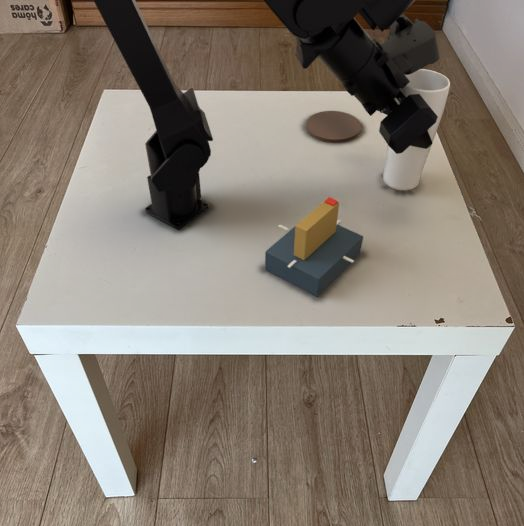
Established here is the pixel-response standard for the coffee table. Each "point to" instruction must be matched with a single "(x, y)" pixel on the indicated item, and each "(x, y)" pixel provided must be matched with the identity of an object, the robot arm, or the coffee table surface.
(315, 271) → the base
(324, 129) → the coaster
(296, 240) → the tap handle
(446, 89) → the drinking glass
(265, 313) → the coffee table surface
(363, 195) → the coffee table surface
